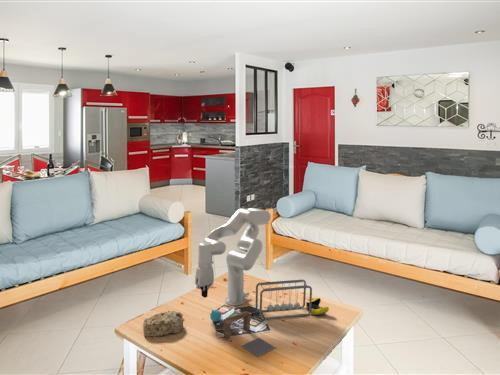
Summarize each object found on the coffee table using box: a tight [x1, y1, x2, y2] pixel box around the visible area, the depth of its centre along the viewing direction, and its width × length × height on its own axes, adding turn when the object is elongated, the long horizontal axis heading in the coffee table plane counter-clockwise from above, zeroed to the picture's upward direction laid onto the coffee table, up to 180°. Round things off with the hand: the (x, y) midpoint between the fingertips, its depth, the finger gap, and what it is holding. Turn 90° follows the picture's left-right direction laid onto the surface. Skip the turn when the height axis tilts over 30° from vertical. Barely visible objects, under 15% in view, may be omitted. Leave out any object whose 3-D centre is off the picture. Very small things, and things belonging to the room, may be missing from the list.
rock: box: [142, 310, 184, 338], centre depth 213 cm, size 21×14×10 cm
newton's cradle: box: [255, 279, 313, 321], centre depth 232 cm, size 30×10×18 cm, turn 103°
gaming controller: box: [305, 297, 329, 316], centre depth 237 cm, size 15×6×10 cm
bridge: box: [223, 310, 251, 341], centre depth 210 cm, size 3×15×10 cm, turn 132°
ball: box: [209, 309, 222, 323], centre depth 223 cm, size 6×6×6 cm
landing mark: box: [240, 337, 277, 358], centre depth 199 cm, size 12×12×1 cm
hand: (204, 296), depth 228 cm, fingers closed
